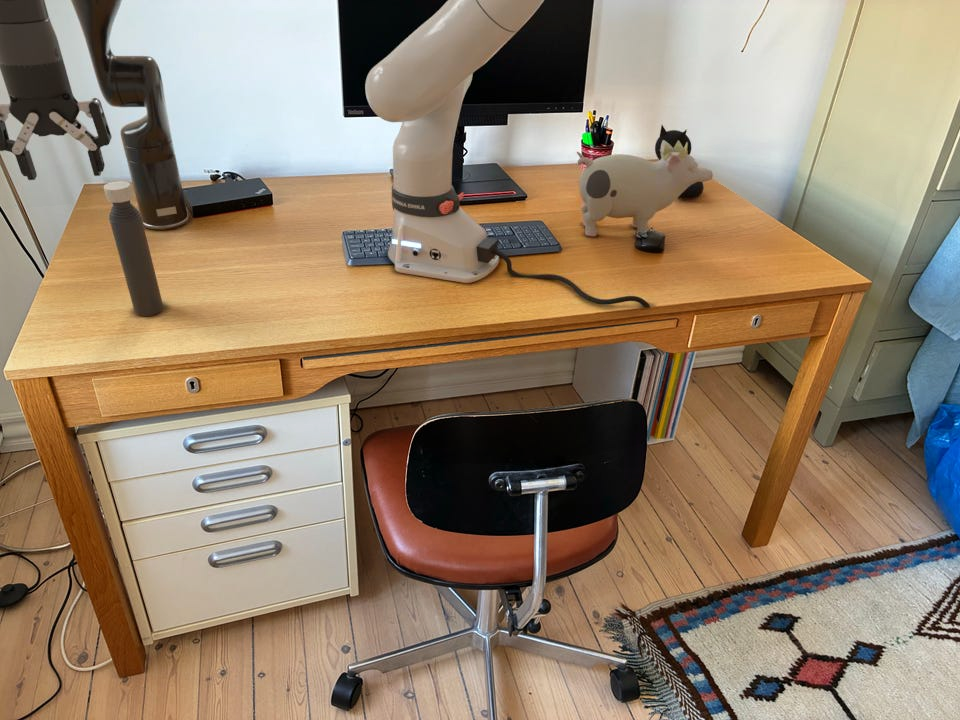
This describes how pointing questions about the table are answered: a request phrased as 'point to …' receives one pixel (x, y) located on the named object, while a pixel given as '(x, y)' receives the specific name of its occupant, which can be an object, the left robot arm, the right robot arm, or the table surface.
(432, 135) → the right robot arm
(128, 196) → the cap
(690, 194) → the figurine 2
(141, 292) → the bottle
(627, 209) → the figurine
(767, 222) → the table surface
